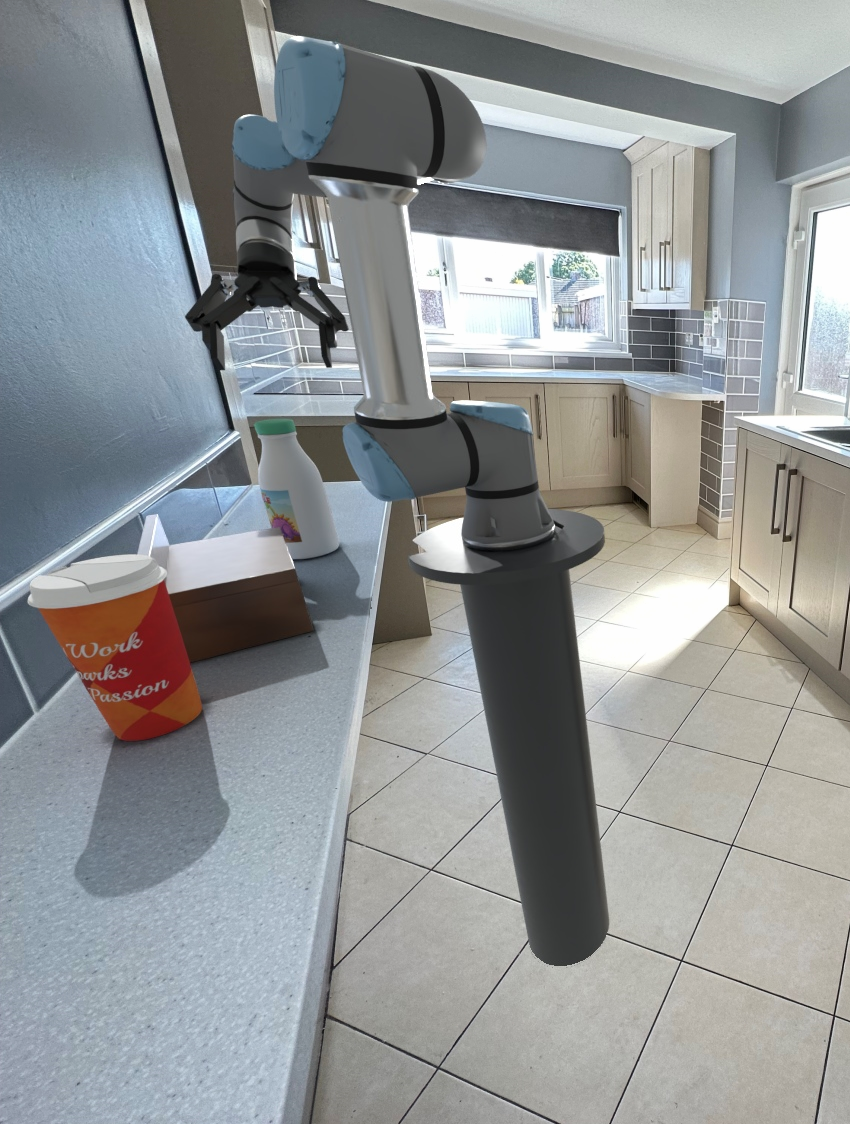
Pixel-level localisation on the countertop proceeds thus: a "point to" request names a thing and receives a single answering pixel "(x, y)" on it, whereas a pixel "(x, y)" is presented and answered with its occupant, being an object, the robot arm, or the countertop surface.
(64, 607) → the coffee cup
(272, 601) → the brown wooden box
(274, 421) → the milk bottle
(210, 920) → the countertop surface
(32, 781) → the countertop surface
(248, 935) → the countertop surface
